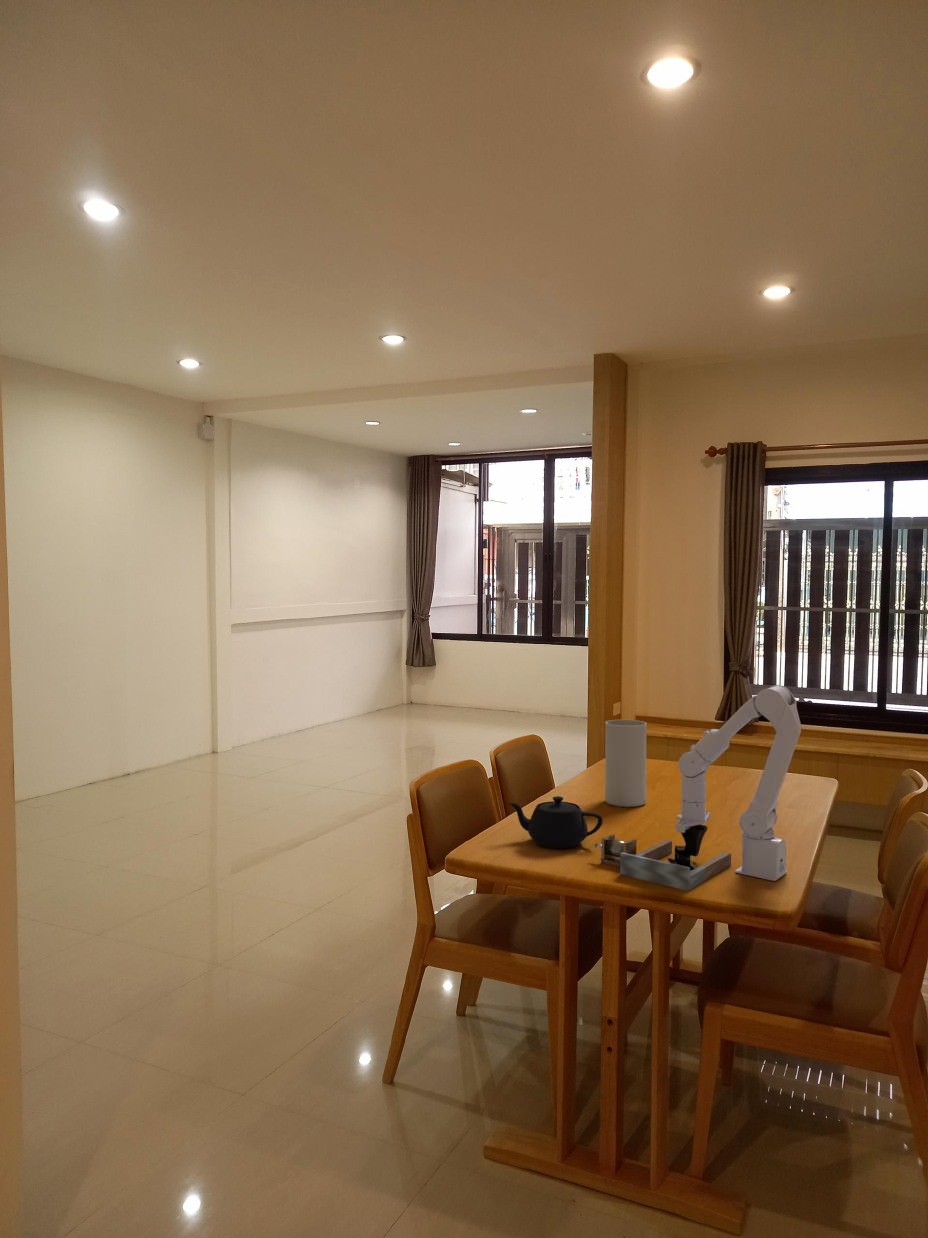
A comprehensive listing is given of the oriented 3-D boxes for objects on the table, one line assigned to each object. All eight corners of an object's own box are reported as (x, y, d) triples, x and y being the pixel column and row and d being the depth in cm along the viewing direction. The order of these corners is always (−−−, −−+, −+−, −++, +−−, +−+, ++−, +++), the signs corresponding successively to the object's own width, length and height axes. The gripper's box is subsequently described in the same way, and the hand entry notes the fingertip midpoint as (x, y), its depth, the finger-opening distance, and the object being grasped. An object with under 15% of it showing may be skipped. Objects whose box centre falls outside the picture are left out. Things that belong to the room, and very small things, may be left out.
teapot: (606, 838, 231) (606, 793, 231) (598, 856, 216) (598, 807, 216) (515, 831, 238) (515, 787, 238) (501, 847, 224) (501, 800, 223)
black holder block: (662, 858, 216) (662, 840, 216) (692, 859, 216) (692, 840, 216) (672, 874, 204) (673, 855, 204) (704, 875, 204) (704, 855, 203)
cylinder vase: (638, 809, 261) (638, 727, 260) (599, 804, 267) (599, 724, 266) (651, 800, 272) (651, 721, 271) (613, 796, 278) (613, 718, 277)
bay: (731, 865, 209) (731, 844, 209) (688, 891, 191) (688, 868, 191) (666, 851, 220) (666, 832, 220) (620, 874, 202) (620, 853, 202)
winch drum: (636, 863, 210) (636, 839, 210) (626, 868, 206) (626, 844, 206) (603, 856, 216) (603, 832, 216) (592, 861, 212) (592, 836, 212)
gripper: (691, 792, 220) (691, 845, 220) (664, 803, 209) (664, 859, 209) (718, 796, 215) (717, 850, 216) (691, 808, 204) (691, 865, 205)
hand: (693, 855), depth 212 cm, fingers closed
